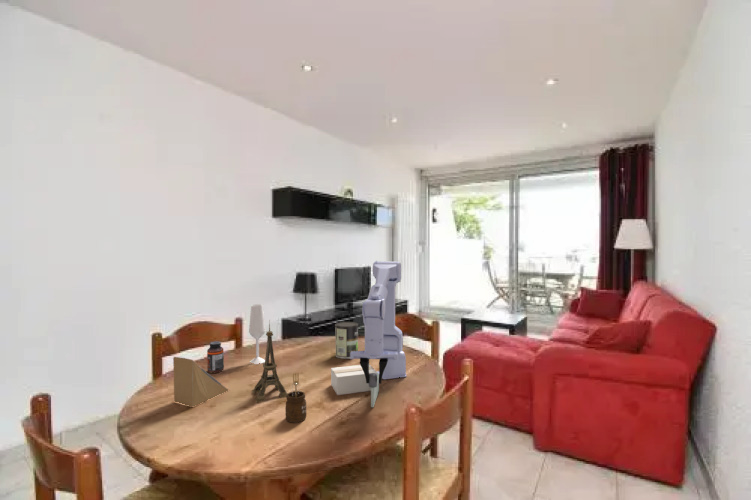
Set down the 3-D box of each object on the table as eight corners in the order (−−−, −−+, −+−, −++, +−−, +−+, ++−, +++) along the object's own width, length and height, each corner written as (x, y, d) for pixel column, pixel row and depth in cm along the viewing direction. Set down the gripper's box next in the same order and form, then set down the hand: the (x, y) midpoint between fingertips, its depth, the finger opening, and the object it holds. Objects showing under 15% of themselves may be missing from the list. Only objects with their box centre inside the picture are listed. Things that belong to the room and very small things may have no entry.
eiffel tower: (256, 402, 121) (255, 324, 121) (251, 390, 131) (250, 318, 130) (289, 396, 126) (288, 321, 125) (282, 385, 135) (282, 315, 135)
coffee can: (358, 352, 176) (358, 321, 176) (357, 359, 166) (357, 326, 165) (336, 352, 176) (336, 321, 176) (333, 358, 166) (333, 326, 165)
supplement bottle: (205, 370, 151) (205, 342, 151) (221, 367, 155) (221, 339, 155) (209, 374, 147) (209, 345, 146) (225, 371, 150) (225, 342, 150)
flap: (374, 389, 131) (373, 362, 130) (381, 390, 130) (381, 362, 130) (368, 406, 117) (368, 376, 117) (376, 407, 117) (376, 376, 116)
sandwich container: (230, 390, 131) (230, 347, 131) (193, 408, 117) (192, 359, 117) (212, 386, 135) (212, 344, 135) (173, 403, 121) (173, 356, 121)
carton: (368, 380, 140) (368, 363, 140) (377, 389, 131) (377, 371, 131) (331, 384, 136) (330, 367, 136) (337, 395, 127) (337, 376, 127)
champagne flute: (260, 358, 167) (260, 303, 167) (268, 361, 163) (268, 305, 162) (246, 361, 162) (245, 305, 162) (254, 365, 158) (253, 307, 157)
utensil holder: (285, 424, 107) (284, 381, 107) (285, 414, 113) (285, 373, 113) (306, 422, 108) (306, 380, 108) (306, 412, 114) (306, 372, 114)
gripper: (348, 341, 115) (348, 386, 115) (397, 342, 113) (397, 388, 113) (352, 335, 122) (352, 377, 122) (397, 336, 120) (397, 379, 121)
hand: (374, 382), depth 118 cm, fingers open, 3 cm apart
